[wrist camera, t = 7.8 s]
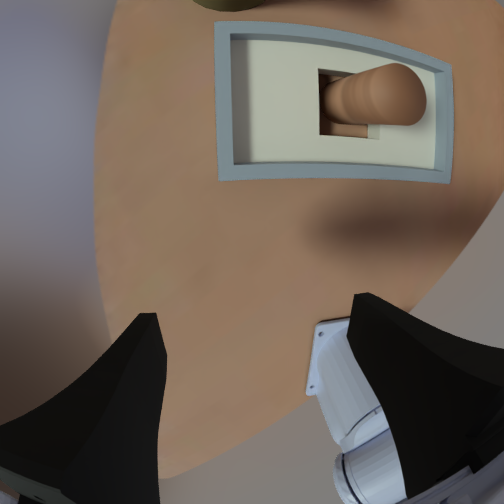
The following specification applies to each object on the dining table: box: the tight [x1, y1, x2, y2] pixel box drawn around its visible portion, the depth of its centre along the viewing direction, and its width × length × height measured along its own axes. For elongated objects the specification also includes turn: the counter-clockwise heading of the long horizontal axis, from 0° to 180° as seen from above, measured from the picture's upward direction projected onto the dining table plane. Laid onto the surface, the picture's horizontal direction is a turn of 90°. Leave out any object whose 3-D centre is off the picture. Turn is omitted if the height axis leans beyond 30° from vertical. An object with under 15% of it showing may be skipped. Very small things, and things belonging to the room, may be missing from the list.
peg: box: [319, 63, 427, 126], centre depth 13 cm, size 3×3×7 cm
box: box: [214, 21, 454, 184], centre depth 15 cm, size 9×16×3 cm, turn 91°
